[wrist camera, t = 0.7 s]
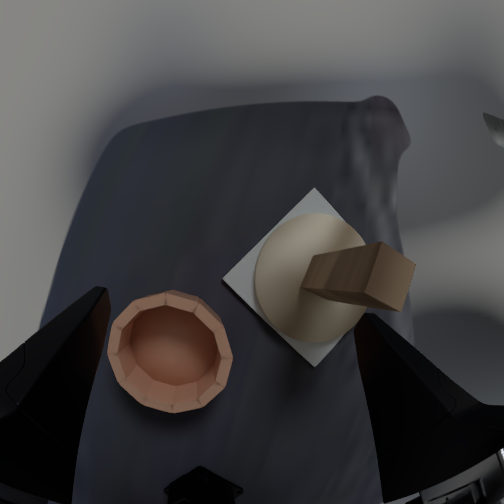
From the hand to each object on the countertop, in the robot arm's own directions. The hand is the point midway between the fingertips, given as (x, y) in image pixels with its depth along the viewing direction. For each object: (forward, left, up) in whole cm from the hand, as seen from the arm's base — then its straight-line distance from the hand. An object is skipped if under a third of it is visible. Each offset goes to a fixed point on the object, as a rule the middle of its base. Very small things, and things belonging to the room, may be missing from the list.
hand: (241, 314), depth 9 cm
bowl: (-1, +6, -15) cm, 16 cm away
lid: (-5, -7, -14) cm, 17 cm away
